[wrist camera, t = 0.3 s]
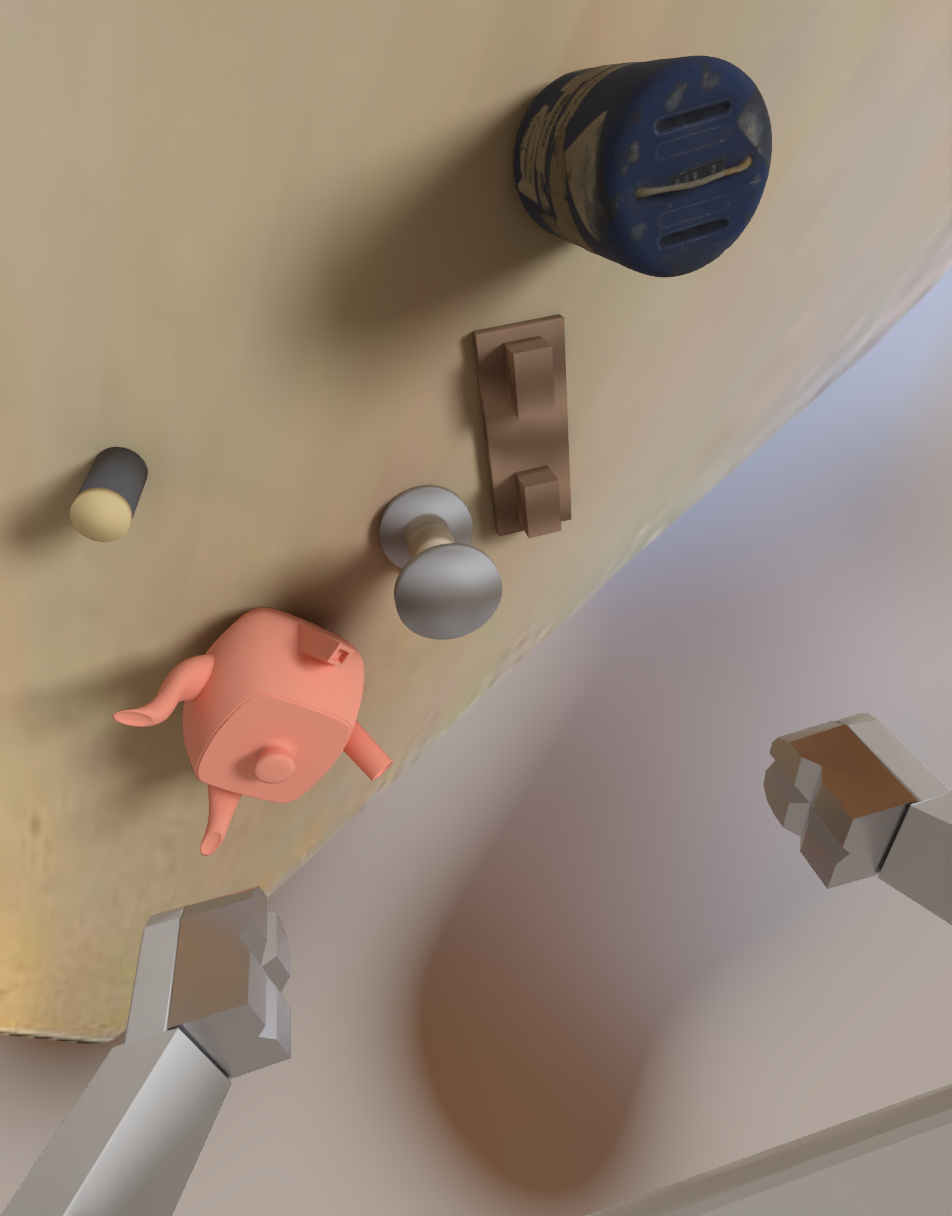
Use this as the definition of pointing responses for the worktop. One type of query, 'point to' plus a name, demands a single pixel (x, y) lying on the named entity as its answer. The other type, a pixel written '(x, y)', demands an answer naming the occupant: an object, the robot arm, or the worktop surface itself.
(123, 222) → the worktop surface
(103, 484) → the cylinder
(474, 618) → the bobbin
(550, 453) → the board
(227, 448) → the worktop surface
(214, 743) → the teapot
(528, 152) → the canister
